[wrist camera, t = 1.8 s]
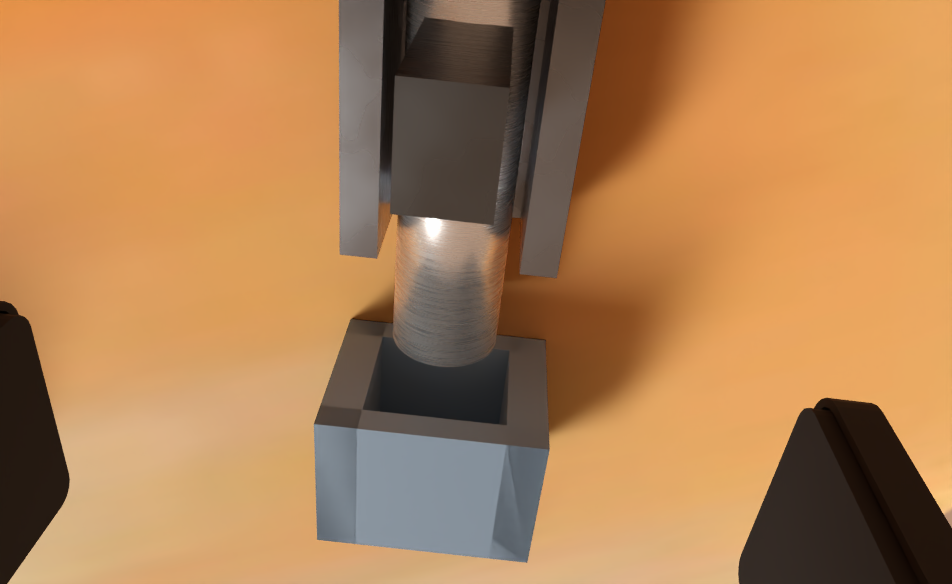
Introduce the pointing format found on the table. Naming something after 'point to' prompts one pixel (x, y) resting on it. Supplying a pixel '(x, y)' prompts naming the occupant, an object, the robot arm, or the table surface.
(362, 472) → the socket block
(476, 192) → the sliding bolt
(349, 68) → the sleeve
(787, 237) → the table surface
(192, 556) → the table surface
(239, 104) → the table surface
